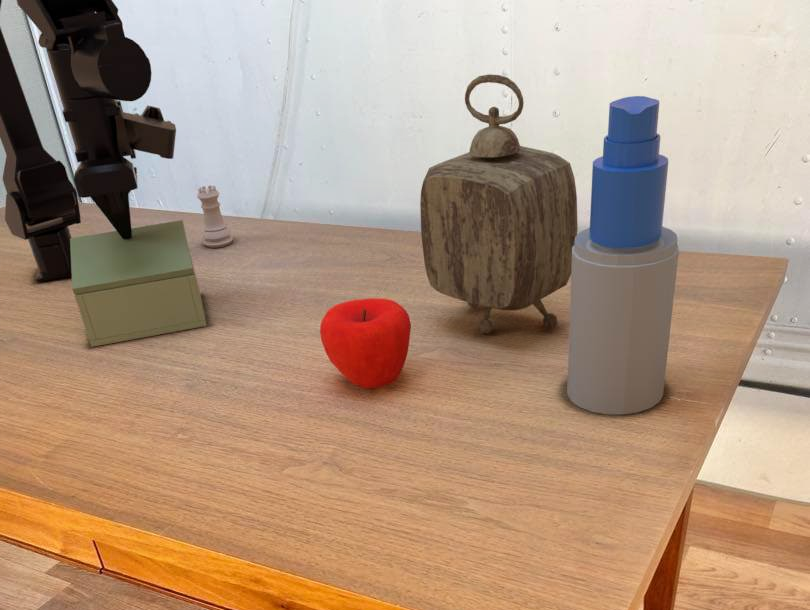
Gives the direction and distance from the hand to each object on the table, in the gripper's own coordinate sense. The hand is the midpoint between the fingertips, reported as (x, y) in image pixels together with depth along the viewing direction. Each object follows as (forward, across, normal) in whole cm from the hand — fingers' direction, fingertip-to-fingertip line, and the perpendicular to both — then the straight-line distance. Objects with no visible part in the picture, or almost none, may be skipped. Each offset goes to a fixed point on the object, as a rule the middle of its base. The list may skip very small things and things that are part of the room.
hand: (127, 238), depth 102 cm
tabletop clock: (+9, -24, -38) cm, 46 cm away
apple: (+9, -31, -22) cm, 39 cm away
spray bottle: (+9, -43, -43) cm, 62 cm away
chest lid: (+2, -3, 0) cm, 3 cm away
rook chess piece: (+9, +23, -11) cm, 27 cm away
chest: (+9, -3, 0) cm, 10 cm away
